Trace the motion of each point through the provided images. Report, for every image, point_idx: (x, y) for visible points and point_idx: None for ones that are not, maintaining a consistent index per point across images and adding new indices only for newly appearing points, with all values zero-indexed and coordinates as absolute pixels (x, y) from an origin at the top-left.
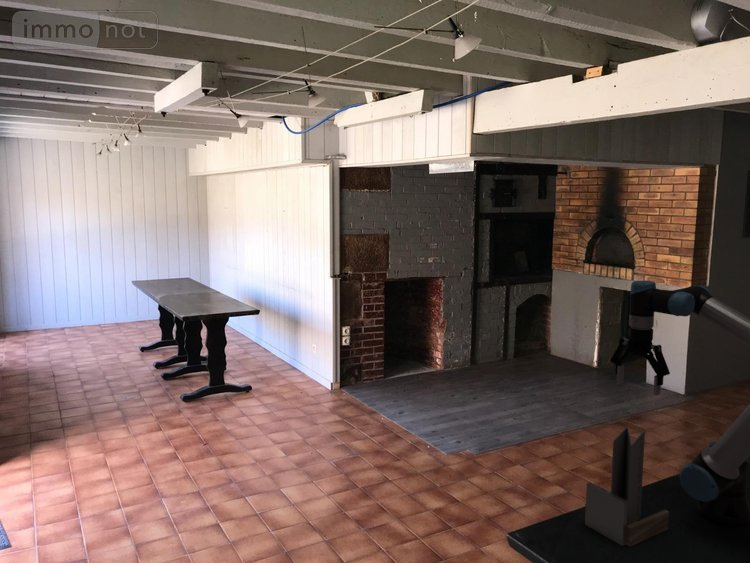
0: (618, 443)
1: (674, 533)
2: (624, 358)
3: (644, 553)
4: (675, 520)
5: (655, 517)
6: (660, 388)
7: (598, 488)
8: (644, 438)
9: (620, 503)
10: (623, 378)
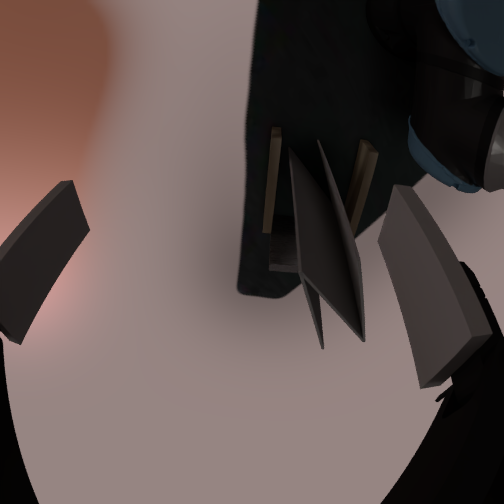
0: (317, 312)
1: (380, 144)
2: (16, 439)
3: (366, 221)
4: (364, 102)
5: (368, 188)
6: (430, 216)
7: (294, 271)
8: (354, 240)
9: None
10: (49, 205)
